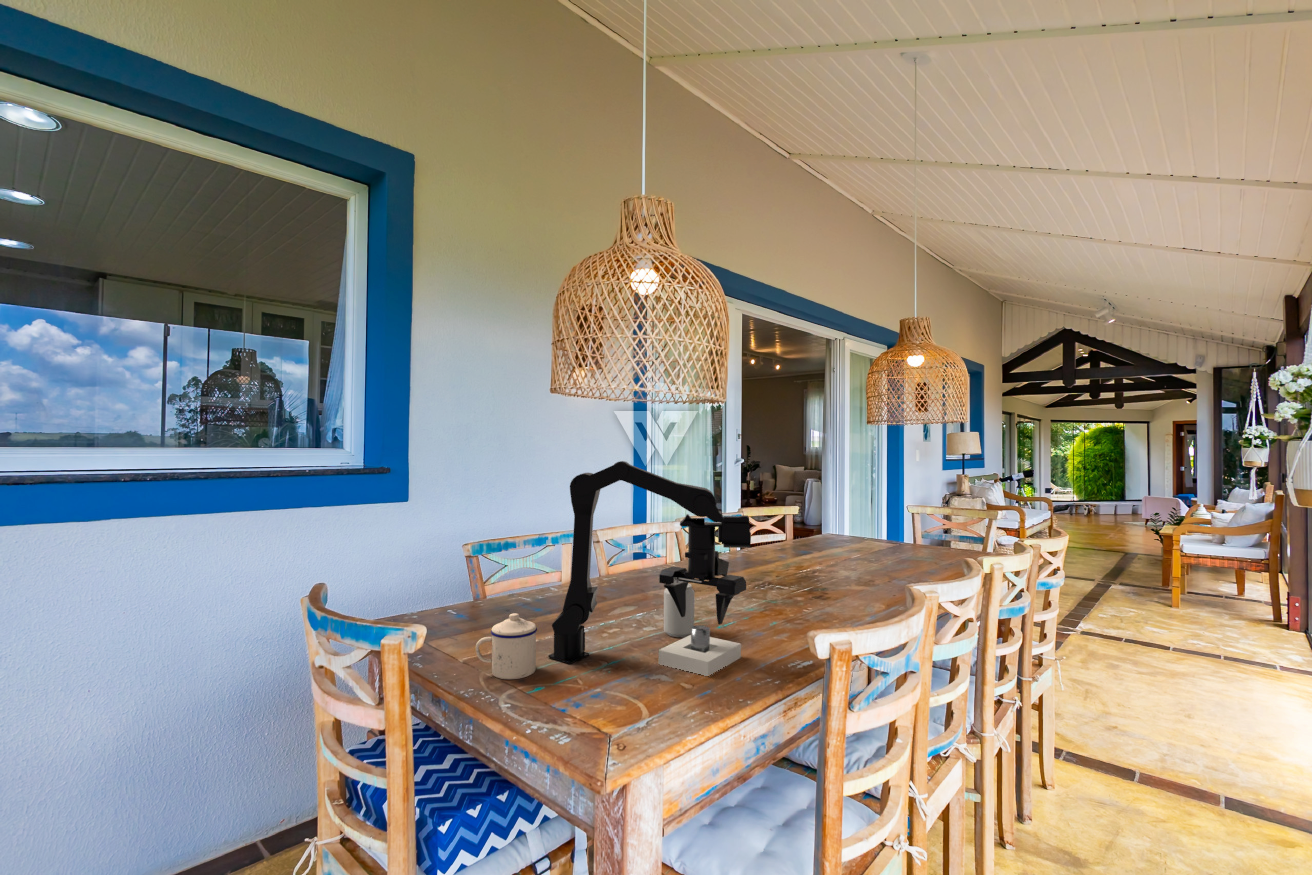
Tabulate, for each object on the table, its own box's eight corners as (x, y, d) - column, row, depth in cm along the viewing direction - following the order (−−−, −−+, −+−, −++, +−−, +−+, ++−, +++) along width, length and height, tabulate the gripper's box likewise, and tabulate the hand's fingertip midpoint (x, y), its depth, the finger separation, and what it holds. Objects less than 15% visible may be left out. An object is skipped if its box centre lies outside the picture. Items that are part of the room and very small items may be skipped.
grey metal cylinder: (703, 665, 131) (703, 631, 131) (687, 661, 133) (687, 628, 133) (713, 660, 134) (713, 627, 134) (697, 656, 136) (697, 624, 136)
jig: (707, 677, 124) (708, 661, 124) (658, 664, 131) (658, 649, 131) (740, 657, 136) (740, 643, 136) (693, 646, 143) (693, 633, 143)
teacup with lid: (535, 662, 132) (536, 607, 132) (537, 678, 123) (537, 619, 123) (476, 666, 129) (477, 610, 129) (474, 683, 120) (474, 622, 120)
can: (658, 635, 151) (658, 585, 151) (671, 627, 157) (672, 579, 157) (686, 640, 147) (686, 589, 147) (699, 631, 154) (699, 582, 154)
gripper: (758, 546, 135) (757, 618, 135) (685, 538, 146) (684, 605, 146) (733, 554, 126) (733, 631, 126) (657, 544, 136) (657, 616, 136)
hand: (701, 620), depth 134 cm, fingers open, 9 cm apart
